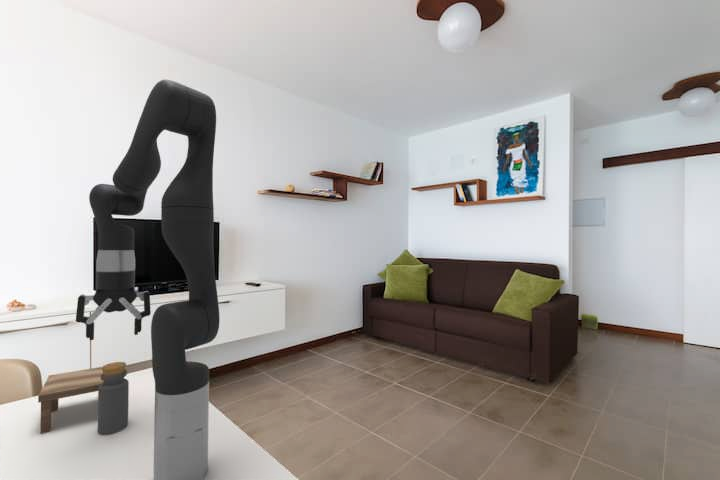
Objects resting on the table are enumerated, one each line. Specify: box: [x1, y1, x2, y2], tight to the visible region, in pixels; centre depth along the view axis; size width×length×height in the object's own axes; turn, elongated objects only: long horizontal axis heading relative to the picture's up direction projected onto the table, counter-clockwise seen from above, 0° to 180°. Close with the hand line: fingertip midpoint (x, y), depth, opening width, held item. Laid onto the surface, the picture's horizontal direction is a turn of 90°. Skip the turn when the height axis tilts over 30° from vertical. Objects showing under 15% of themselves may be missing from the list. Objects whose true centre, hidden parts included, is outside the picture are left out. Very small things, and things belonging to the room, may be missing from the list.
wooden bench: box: [37, 366, 104, 434], centre depth 86 cm, size 14×14×9 cm
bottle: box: [97, 361, 130, 436], centre depth 80 cm, size 6×6×15 cm
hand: (114, 336), depth 80 cm, fingers open, 8 cm apart
